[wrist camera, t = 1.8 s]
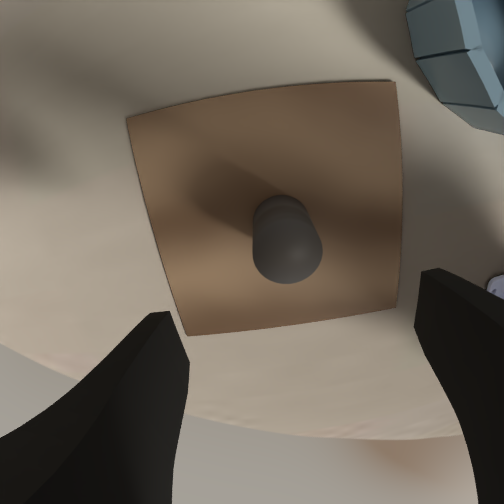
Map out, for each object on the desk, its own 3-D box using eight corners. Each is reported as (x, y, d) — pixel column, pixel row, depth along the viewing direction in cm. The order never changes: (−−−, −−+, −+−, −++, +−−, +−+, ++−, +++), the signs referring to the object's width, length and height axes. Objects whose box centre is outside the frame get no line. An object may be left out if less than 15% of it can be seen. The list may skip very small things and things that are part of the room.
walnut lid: (391, 300, 19) (416, 344, 15) (189, 328, 20) (177, 377, 16) (389, 82, 13) (431, 79, 9) (131, 117, 14) (93, 124, 10)
